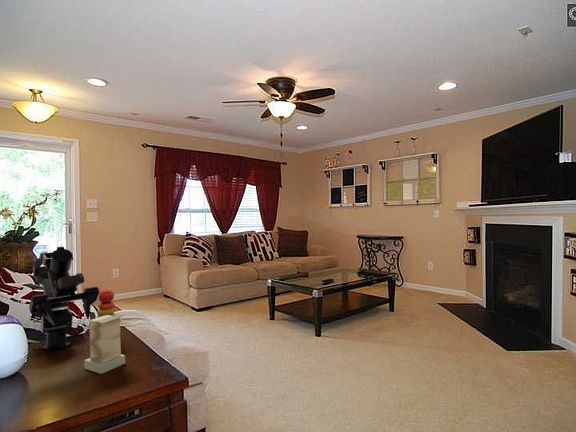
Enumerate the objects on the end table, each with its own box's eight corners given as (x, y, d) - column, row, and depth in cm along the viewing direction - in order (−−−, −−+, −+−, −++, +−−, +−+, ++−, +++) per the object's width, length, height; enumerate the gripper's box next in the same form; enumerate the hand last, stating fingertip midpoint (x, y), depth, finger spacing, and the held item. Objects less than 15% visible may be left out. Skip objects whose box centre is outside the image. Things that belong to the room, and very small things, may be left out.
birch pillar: (90, 359, 109) (89, 320, 108) (108, 352, 114) (107, 314, 114) (103, 362, 106) (101, 322, 106) (120, 355, 111) (119, 317, 111)
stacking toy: (107, 345, 127) (106, 292, 127) (88, 343, 129) (87, 291, 128) (122, 337, 135) (121, 287, 134) (104, 336, 136) (103, 287, 136)
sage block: (84, 369, 108) (84, 360, 108) (108, 359, 115) (108, 350, 115) (101, 375, 104) (101, 365, 104) (125, 364, 111) (124, 355, 111)
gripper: (30, 269, 107) (41, 313, 100) (97, 262, 121) (110, 300, 113) (25, 292, 112) (34, 334, 105) (89, 282, 126) (101, 320, 119)
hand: (72, 321), depth 110 cm, fingers open, 9 cm apart
